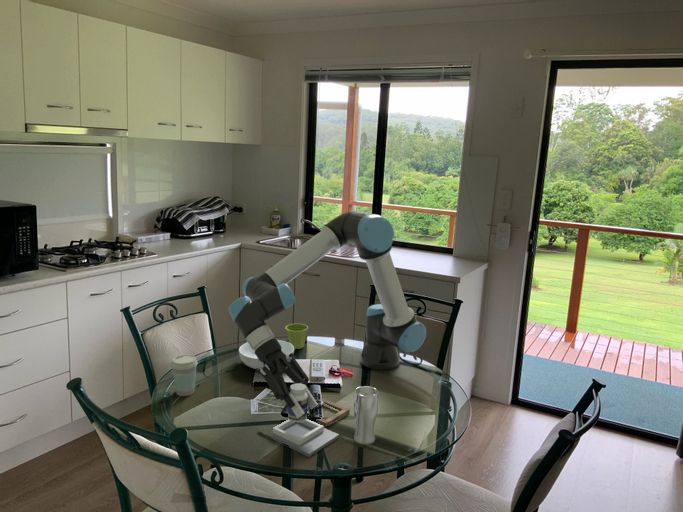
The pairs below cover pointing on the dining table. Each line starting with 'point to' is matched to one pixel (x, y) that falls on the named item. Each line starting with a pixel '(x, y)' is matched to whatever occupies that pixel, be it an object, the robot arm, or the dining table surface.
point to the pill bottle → (299, 401)
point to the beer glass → (365, 414)
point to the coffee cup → (184, 374)
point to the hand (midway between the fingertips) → (308, 411)
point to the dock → (304, 436)
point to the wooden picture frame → (335, 417)
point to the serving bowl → (252, 360)
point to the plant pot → (297, 335)
